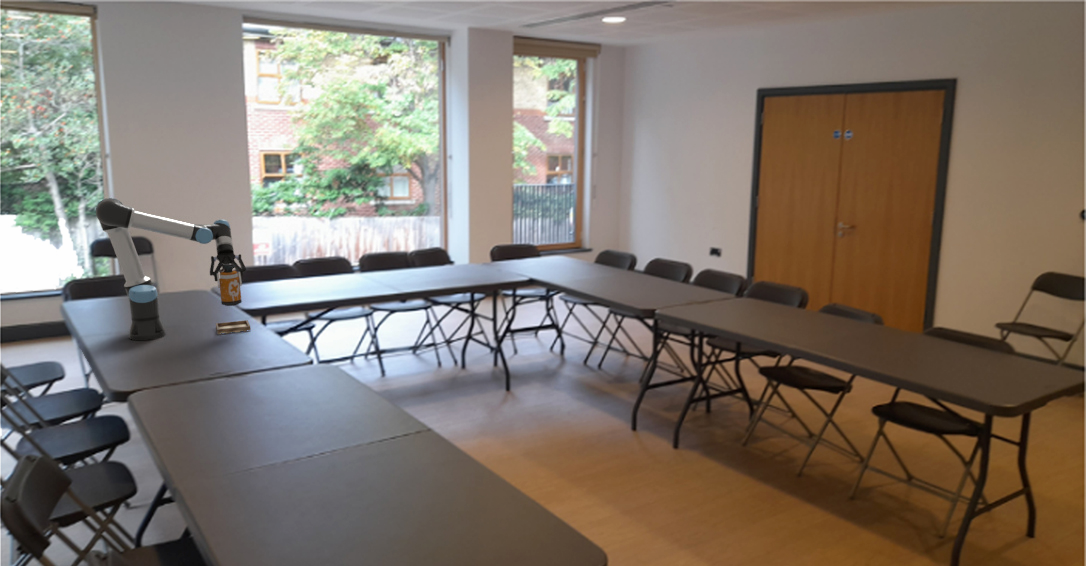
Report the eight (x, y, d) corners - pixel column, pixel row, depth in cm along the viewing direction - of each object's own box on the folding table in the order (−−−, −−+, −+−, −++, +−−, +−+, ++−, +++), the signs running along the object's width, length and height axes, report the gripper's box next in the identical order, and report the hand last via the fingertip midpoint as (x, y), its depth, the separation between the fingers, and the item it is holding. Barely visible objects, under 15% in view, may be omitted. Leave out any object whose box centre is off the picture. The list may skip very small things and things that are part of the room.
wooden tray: (217, 334, 360) (217, 329, 360) (215, 327, 372) (215, 323, 372) (250, 330, 367) (250, 326, 366) (247, 324, 378) (247, 320, 378)
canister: (228, 307, 360) (224, 265, 356) (215, 304, 367) (211, 263, 363) (245, 303, 367) (241, 263, 363) (232, 300, 374) (228, 260, 369)
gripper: (248, 250, 381) (254, 287, 370) (200, 253, 371) (205, 291, 360) (248, 241, 375) (254, 278, 364) (200, 244, 366) (205, 282, 355)
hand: (230, 285), depth 362 cm, fingers closed on canister, 9 cm apart
